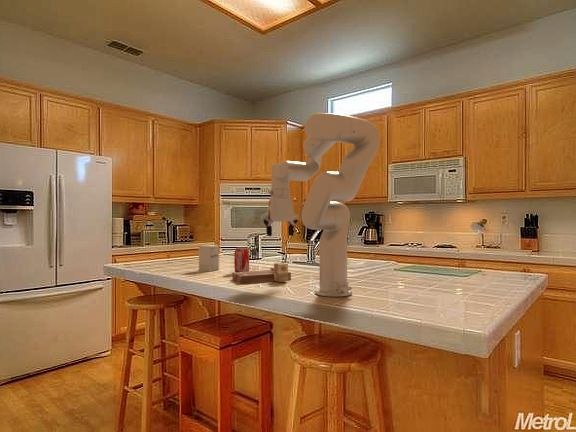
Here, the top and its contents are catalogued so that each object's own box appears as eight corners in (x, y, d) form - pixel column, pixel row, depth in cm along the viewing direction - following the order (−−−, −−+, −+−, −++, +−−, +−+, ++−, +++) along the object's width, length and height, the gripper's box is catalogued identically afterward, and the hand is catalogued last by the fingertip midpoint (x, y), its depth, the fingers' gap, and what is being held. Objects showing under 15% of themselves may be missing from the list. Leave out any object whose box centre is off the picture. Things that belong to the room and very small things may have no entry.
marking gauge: (289, 281, 149) (289, 264, 150) (280, 282, 148) (280, 264, 148) (275, 276, 162) (275, 260, 162) (267, 277, 160) (267, 261, 160)
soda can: (231, 273, 176) (231, 248, 176) (238, 271, 182) (238, 247, 182) (245, 274, 173) (245, 248, 174) (251, 272, 180) (251, 247, 180)
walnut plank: (290, 279, 157) (290, 272, 157) (241, 283, 147) (241, 276, 147) (279, 275, 168) (279, 269, 168) (232, 279, 158) (232, 272, 158)
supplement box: (210, 271, 182) (210, 246, 182) (198, 271, 185) (198, 245, 185) (219, 270, 189) (219, 245, 189) (207, 269, 192) (207, 244, 192)
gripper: (264, 193, 145) (264, 236, 145) (303, 194, 153) (303, 235, 153) (257, 193, 152) (257, 235, 152) (295, 195, 159) (294, 234, 159)
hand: (280, 235), depth 152 cm, fingers open, 9 cm apart
